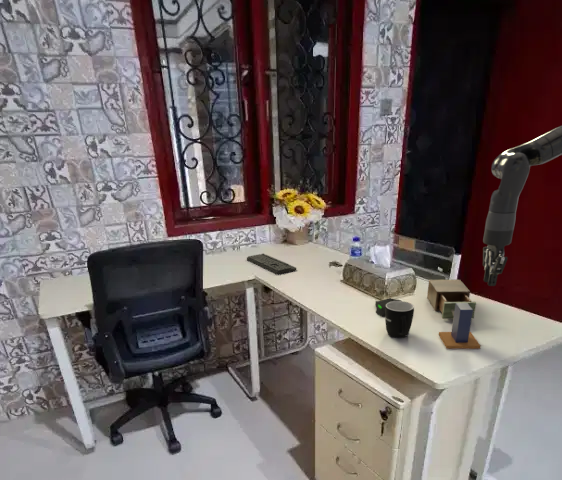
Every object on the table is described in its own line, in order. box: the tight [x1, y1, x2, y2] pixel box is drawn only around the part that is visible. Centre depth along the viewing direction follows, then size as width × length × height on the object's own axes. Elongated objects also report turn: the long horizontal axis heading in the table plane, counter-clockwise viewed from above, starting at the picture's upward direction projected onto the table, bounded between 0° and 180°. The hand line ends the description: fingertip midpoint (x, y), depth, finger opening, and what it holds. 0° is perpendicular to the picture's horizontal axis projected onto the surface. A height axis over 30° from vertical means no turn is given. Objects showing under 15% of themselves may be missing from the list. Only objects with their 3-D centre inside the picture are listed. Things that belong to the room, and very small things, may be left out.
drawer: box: [438, 293, 477, 320], centre depth 147 cm, size 17×10×6 cm, turn 174°
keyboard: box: [246, 253, 297, 275], centre depth 220 cm, size 35×11×2 cm, turn 30°
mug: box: [384, 300, 415, 339], centre depth 135 cm, size 12×9×10 cm
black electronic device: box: [374, 297, 402, 318], centre depth 156 cm, size 11×16×4 cm
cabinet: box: [426, 279, 471, 312], centre depth 158 cm, size 14×12×8 cm
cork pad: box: [438, 331, 481, 350], centre depth 131 cm, size 10×10×1 cm
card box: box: [450, 303, 473, 343], centre depth 129 cm, size 4×6×11 cm, turn 174°
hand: (489, 283), depth 128 cm, fingers open, 3 cm apart
